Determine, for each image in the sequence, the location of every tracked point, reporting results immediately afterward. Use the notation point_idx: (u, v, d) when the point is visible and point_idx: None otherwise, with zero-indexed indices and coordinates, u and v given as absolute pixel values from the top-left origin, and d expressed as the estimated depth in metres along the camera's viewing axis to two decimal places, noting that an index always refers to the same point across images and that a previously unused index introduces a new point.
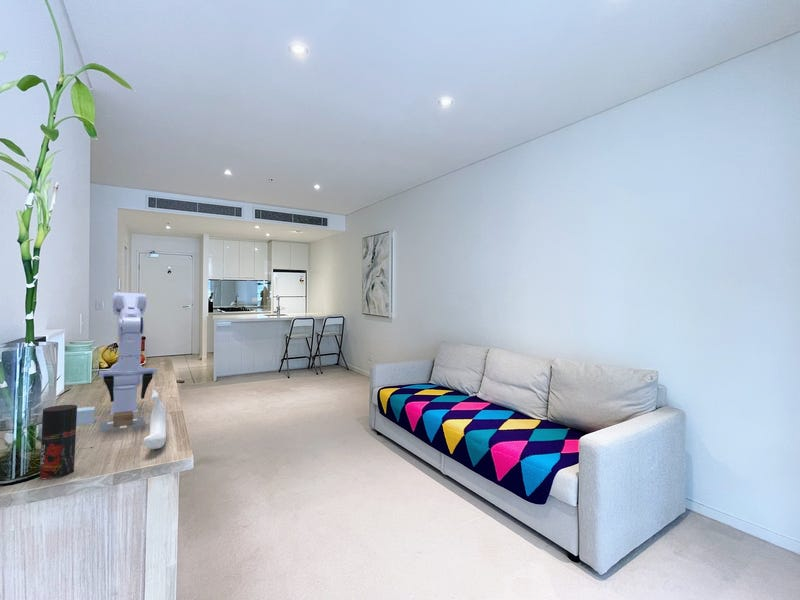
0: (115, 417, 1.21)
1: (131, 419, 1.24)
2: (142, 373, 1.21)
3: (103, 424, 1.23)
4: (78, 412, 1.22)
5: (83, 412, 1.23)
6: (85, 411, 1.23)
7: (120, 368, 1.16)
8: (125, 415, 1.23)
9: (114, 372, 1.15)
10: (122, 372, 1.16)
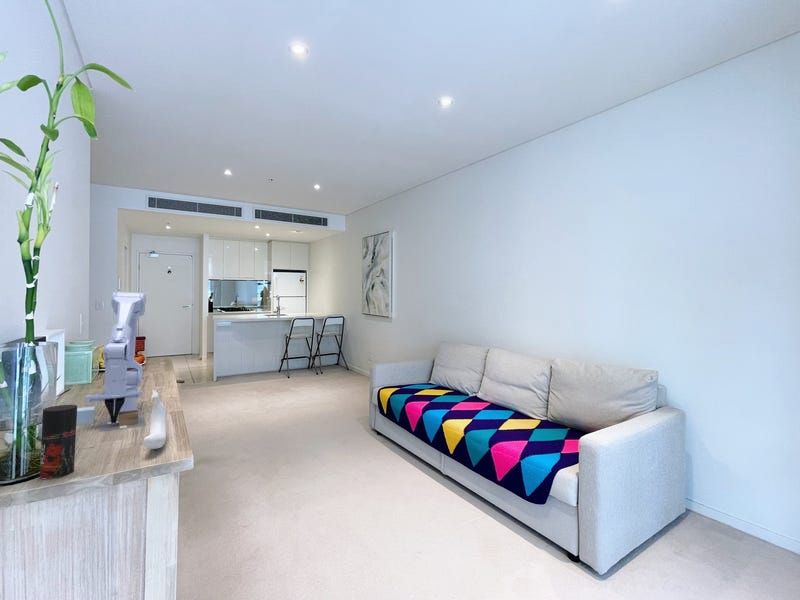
0: (120, 416, 1.22)
1: (136, 418, 1.25)
2: (128, 396, 1.25)
3: (103, 424, 1.23)
4: (78, 412, 1.22)
5: (83, 412, 1.23)
6: (85, 411, 1.23)
7: (106, 392, 1.21)
8: (130, 414, 1.24)
9: (100, 396, 1.20)
10: (108, 396, 1.20)
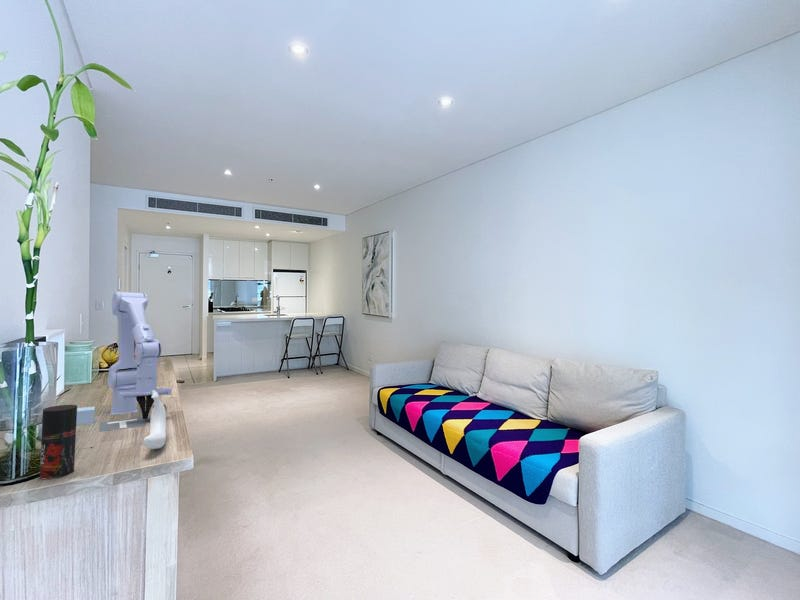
0: None
1: None
2: (158, 393, 1.30)
3: (103, 424, 1.23)
4: (78, 412, 1.22)
5: (83, 412, 1.23)
6: (85, 411, 1.23)
7: (138, 390, 1.26)
8: None
9: (133, 393, 1.25)
10: (140, 393, 1.25)
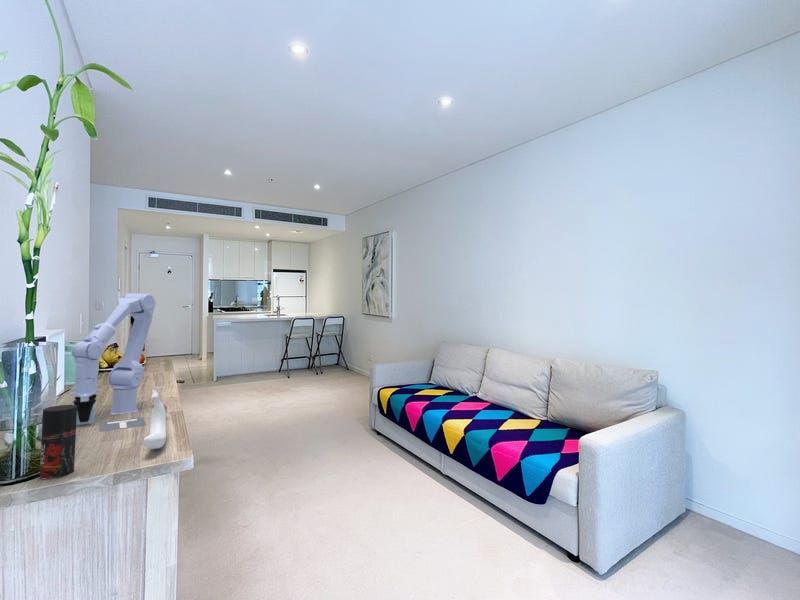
0: None
1: None
2: None
3: (103, 424, 1.23)
4: None
5: None
6: None
7: None
8: None
9: None
10: None
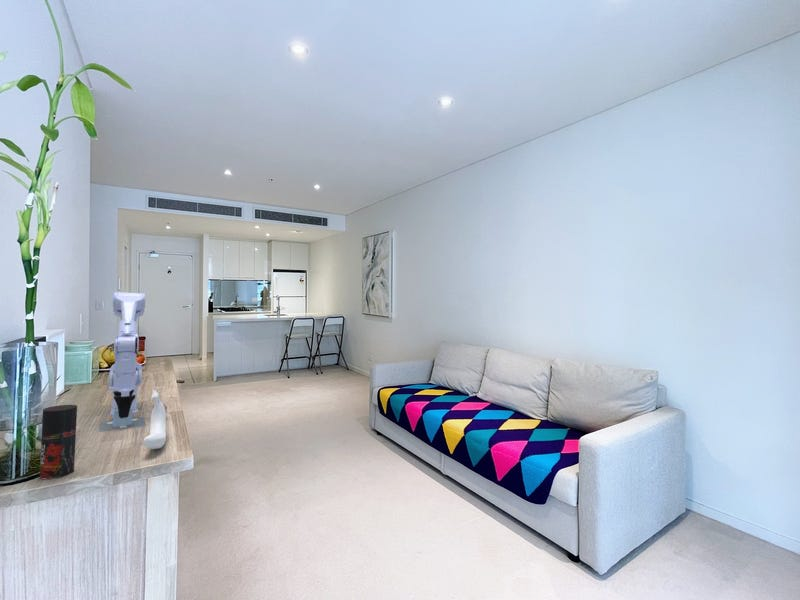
0: None
1: None
2: None
3: (103, 424, 1.23)
4: (118, 412, 1.22)
5: None
6: None
7: None
8: None
9: None
10: None
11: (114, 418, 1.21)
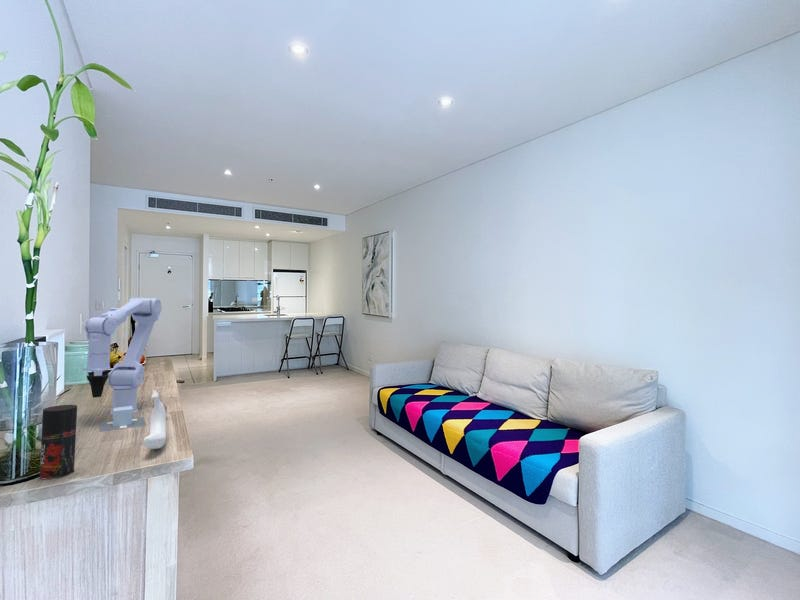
0: None
1: None
2: None
3: (103, 424, 1.23)
4: (118, 412, 1.22)
5: (122, 411, 1.22)
6: (124, 410, 1.23)
7: None
8: None
9: None
10: None
11: (114, 418, 1.21)
